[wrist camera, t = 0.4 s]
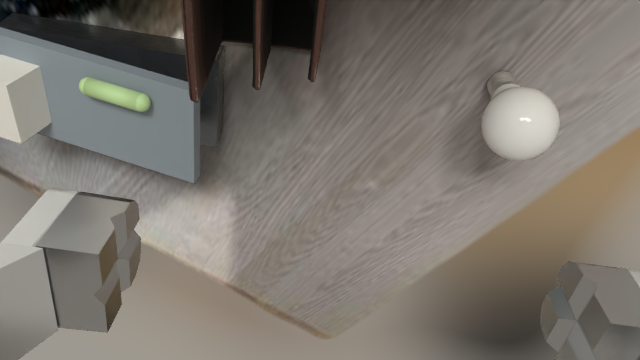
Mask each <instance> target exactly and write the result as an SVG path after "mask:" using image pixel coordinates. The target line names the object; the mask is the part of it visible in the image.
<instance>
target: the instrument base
mask: <svg viewBox="0 0 640 360" xmlns="http://www.w3.org/2000/svg"><path fill="white" fill-rule="evenodd" d="M0 27H2V28H5V29H8V30H12V31H15V32H19V33H22V34H25V35H29V36H32V37H36V38H39V39H43V40H46V41H49V42H53V43H56V44H60V45H63V46H66V47H70V48H73V49H77V50H80V51H83V52H87V53H90V54H94V55H97V56H101V57H104V58H107V59H111V60H114V61H118V62H121V63H124V64H128V65H131V66H135V67H138V68H141V69H145V70H148V71H152V72H155V73H159V74H162V75H165V76H169V77H172V78H176V79H179V80H182V81H186V82H188V77H187V68H186V59H185V43H184V40H182V39H176V38H170V37H163V36H157V35H151V34H145V33H138V32H132V31H126V30H119V29H113V28H107V27H100V26H94V25H88V24H82V23H75V22H69V21H63V20H56V19H50V18H44V17H38V16H31V15H25V14H19V13H12V14H11V15H10V16H8V17H7V18H6V19H4V20H3V21H2V22H0ZM224 62H225V46H220V49H219V51H218V53H217V56H216V59H215V61H214V64H213V66H212V69H211V72H210V74H209V77H208V80H207V83H206V85H205V88H204V91H203V93H202V96H201V99H200V145H203V146H210V147H217V145H218V142H219V139H220V136H221V133H222V120H223V91H224Z"/></svg>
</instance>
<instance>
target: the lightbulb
mask: <svg viewBox="0 0 640 360" xmlns="http://www.w3.org/2000/svg"><path fill="white" fill-rule="evenodd" d="M487 89H488V91H489V94H490V96H491V100H490V102H489V103H488V105H487V106H486V108H485V110H484V113H483V116H482V120H481V130H482V135H483V138H484V140H485V142H486V144H487V145H488V146H489V148H490V149H491V150H492V151H493V152H495V153H496V154H497V155H499V156H501V157H503V158H505V159H509V160H514V161H524V160H530V159H533V158H536V157H538V156H540V155H541V154H543V153H544V152H546V151H547V150H548V149H549V148H550V147H551V146H552V144H553V143H554V142H555V140H556V138H557V136H558V133H559V128H560V117H559V113H558V110H557V107H556V105H555V104H554V102H553V101H552V100H551V99H550V98H549V97H548V96H547V95H546V94H544V93H543V92H541V91H539V90H537V89H534V88H530V87H521V86H520V85H518V83H517V81H516V79H515V77H514V75H513V74H511V73H510V72H506V71H502V72H498V73H496V74H494V75H493V76H491V78H490V79H489V81H488V83H487Z"/></svg>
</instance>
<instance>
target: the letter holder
mask: <svg viewBox="0 0 640 360" xmlns="http://www.w3.org/2000/svg"><path fill="white" fill-rule="evenodd" d="M326 1H327V0H181V4H182V17H183V31H184V43H185V59H186V68H187V77H188V86H189V96H190V100H191V101H193V102H195V103H198V102H199V100H200V99H201V96H202V93H203V91H204V88H205V85H206V83H207V80H208V77H209V74H210V72H211V69H212V66H213V64H214V61H215V59H216V56H217V53H218V51H219V49H220V46H221V43H222V42H223V41H227V42H239V43H248V44H253V84H252V86H253V88H255V89H256V90H260V88H261V84H262V81H263V77H264V72H265V68H266V65H267V60H268V57H269V53H270V50H271V47H278V48H290V49H299V50H307V51H311V58H310V66H309V74H308V79H309V80H310V81H311V82H314V81H315V79H316V73H317V68H318V62H319V57H320V52H321V42H322V34H323V26H324V18H325V9H326Z"/></svg>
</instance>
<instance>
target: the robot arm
mask: <svg viewBox="0 0 640 360" xmlns="http://www.w3.org/2000/svg"><path fill="white" fill-rule="evenodd" d="M138 221H139V208H138V204H137V202H136V201H135V200H130V199H124V198H117V197H111V196H105V195H99V194H93V193H86V192H78V191H72V190H65V189H59V188H52V189H49V190H47V191H46V192H45V193H44V194H43V195H42V196H41V198H40V199H39V200H38V201H37V202H36V203H35V204H34V205H33V207H32V208H31V209H30V210H29V211H28V212H27V213H26V215H25V216H24V217H23V218H22V219H21V220H20V222H18V224H17V225H16V226H15V227H14V228H13V229H12V230H11V232H10V233H9V234H8V235H7V236H6V238H4V239H3V241H2V242H0V360H18V359H20V358H21V357H22V356H24V355H25V354H26V353H28V352H29V351H31V350H32V349H33V348H35V347H36V346H37V345H39V344H40V343H42V342H43V341H44V340H46V339H47V338H48V337H50V336H51V335H52V334H54V333H55V332H56V331H58V328H67V329H77V330H87V331H98V332H108V331H109V329H110V327H111V325H112V323H113V321H114V319H115V317H116V315H117V313H118V311H119V309H120V307H121V305H122V301H121V292H122V291H124V290H125V289H127V288H129V287H130V286H131V284H132V282H133V280H134V278H135V276H136V273H137V269H138V265H139V262H140V254H141V238H140V236H139V235H138V234H137V233H136V232H135V230H134V228H135V226H136V224H137V223H138ZM557 279H558V282H559V284H560V286H559V287H557V288H556V289H554V290H552V291H551V292H549V293H548V294H547V296H546V298H545V300H544V302H543V305H542V308H541V317H540V321H541V328H542V332H543V335H544V337H545V340H546V342H547V343H549V345H551V346H552V347H553V348H554V349H555V350H556V351H557V352H558V353H557V356H556V358H555V360H640V269H631V268H622V267H621V268H615V267H608V266H600V265H593V264H585V263H578V262H570V261H568V262H567V263H566V264H565V265H563V266H562V268H561V269H560V271H559V273H558V275H557Z"/></svg>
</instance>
